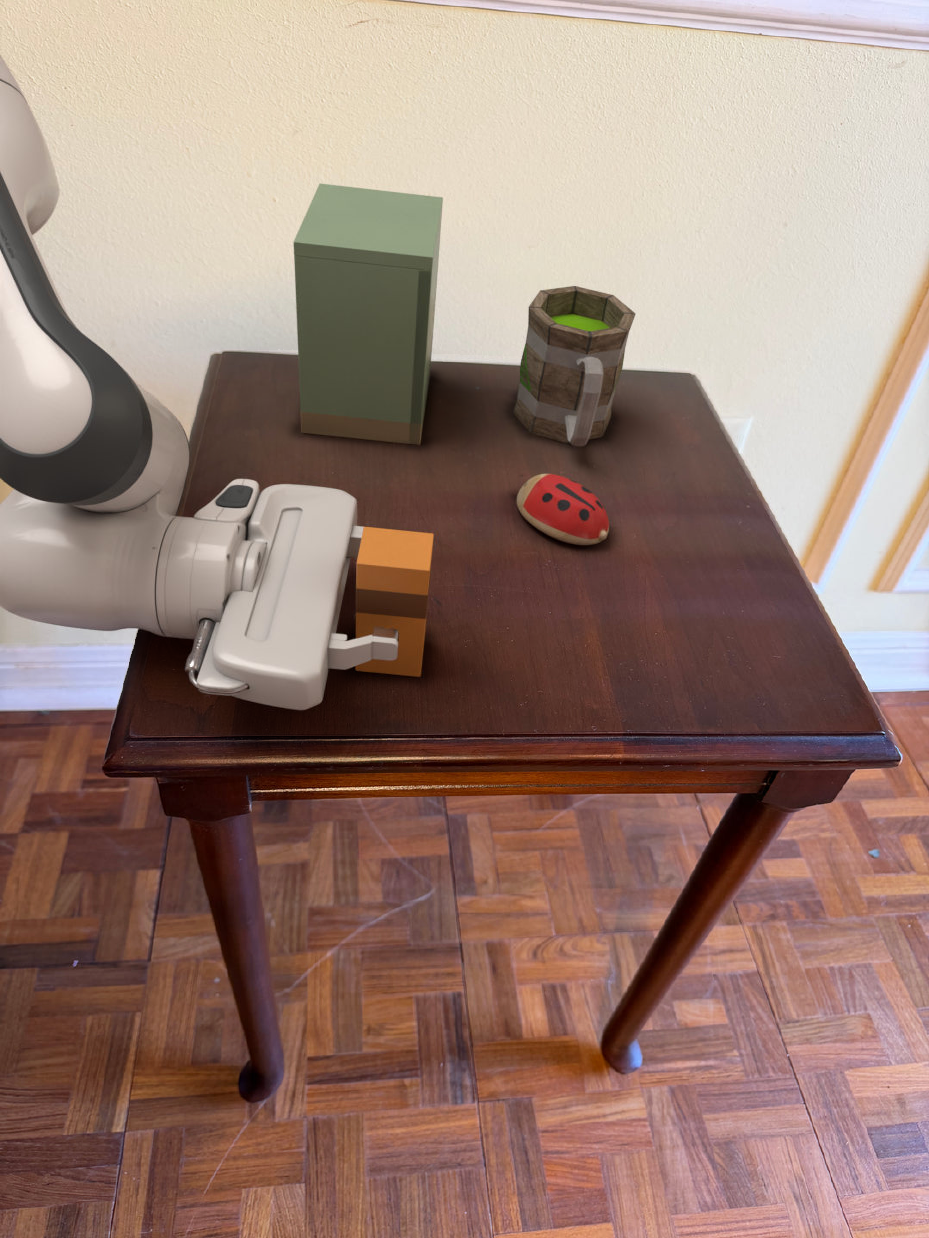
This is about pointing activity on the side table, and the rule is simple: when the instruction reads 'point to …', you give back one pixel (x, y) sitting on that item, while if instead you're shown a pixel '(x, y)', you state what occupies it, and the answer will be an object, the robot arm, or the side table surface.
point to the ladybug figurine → (563, 509)
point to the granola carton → (394, 594)
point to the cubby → (366, 311)
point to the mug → (571, 363)
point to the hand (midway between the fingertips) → (404, 598)
